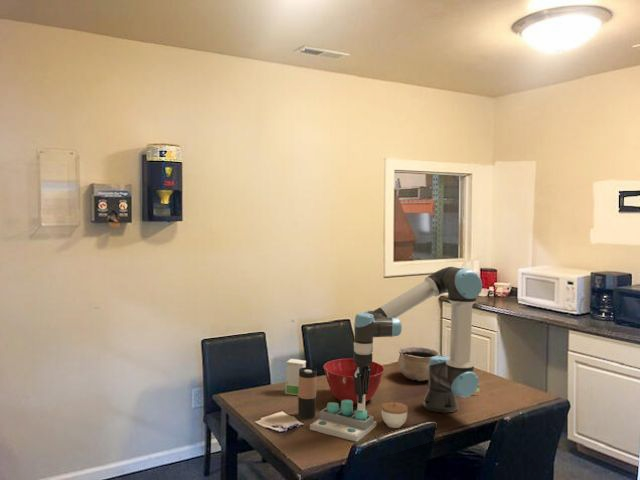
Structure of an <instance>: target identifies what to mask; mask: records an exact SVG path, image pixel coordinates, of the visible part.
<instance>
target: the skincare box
mask: <svg viewBox="0 0 640 480" xmlns="http://www.w3.org/2000/svg"><path fill="white" fill-rule="evenodd" d="M306 364H307V360H302V359H296V358H290V359H288V360H287V361H286V371H285V386H284V387H285V389H284V391H285V392H284V394H286V395H294V396H298V391H299V369H300V368H304V367H306V366H307V365H306Z"/></svg>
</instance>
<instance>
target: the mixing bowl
mask: <svg viewBox="0 0 640 480" xmlns="http://www.w3.org/2000/svg"><path fill="white" fill-rule="evenodd" d="M353 359H354V358H339V359H334V360H333V359H332V360H331V361H330V360H329V361H327V362H326V363H325V364H324V365H323V367H322V368H323V370H324V373H325V377H326V381H327V384H328V386H329V388H330V391H331V393H332V395H333V396H334V397H335V398H336V399H338V400H339V401H340V402H341V401H342V400H352V401H353V405H358V395H357V394H355V386H354V377H353V372H354V373H355V372H356V366H357V364H356V363H355V362H354V361H353ZM369 366H370V367H372V369H371V373H370V380H369V388H368V391H366V392H368V394H365V403H366V402H368V401H369V400H371V399H372V398H373V397H374V395H375V394H376V392H377V390H378V389H379V386H380V383H381V381H382V378H383V375H384V372H385V367H384V366H383V365H382V364H380V363H378V362H375V361H373V360H372V363H370V364H369Z"/></svg>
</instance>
